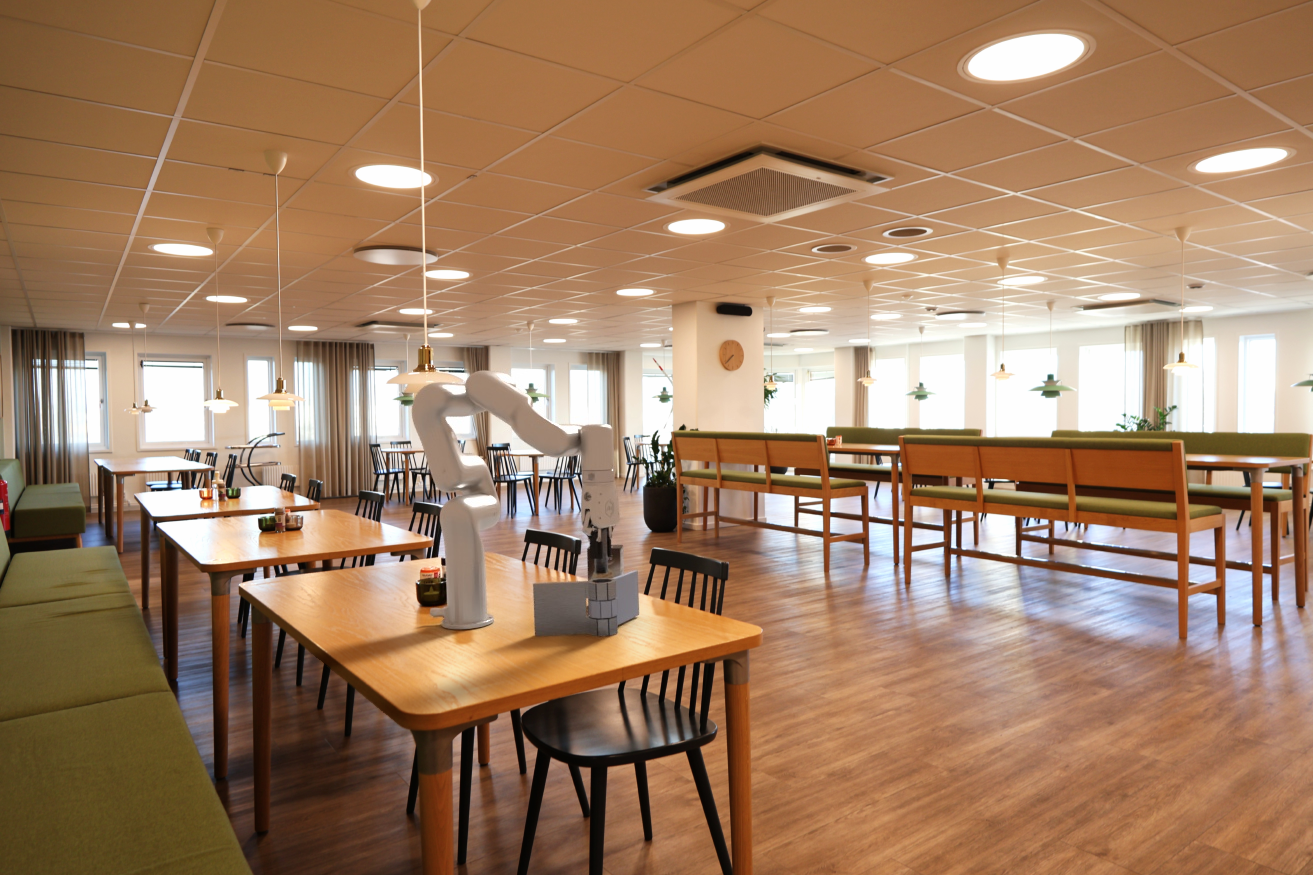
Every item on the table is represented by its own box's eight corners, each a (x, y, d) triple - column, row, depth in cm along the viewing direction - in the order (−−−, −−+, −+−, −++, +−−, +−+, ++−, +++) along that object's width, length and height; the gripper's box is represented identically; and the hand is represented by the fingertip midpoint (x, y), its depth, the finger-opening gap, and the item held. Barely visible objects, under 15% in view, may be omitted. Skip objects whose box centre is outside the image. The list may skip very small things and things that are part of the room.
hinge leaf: (608, 635, 178) (606, 586, 178) (584, 632, 181) (582, 584, 181) (648, 615, 195) (646, 571, 195) (626, 613, 198) (624, 569, 198)
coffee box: (587, 609, 206) (585, 548, 206) (591, 604, 212) (589, 544, 212) (622, 609, 205) (620, 547, 205) (625, 603, 211) (623, 543, 211)
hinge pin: (590, 574, 180) (588, 514, 180) (591, 570, 185) (589, 512, 185) (612, 574, 180) (610, 513, 180) (612, 570, 185) (610, 511, 185)
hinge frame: (533, 639, 179) (531, 586, 179) (536, 631, 185) (534, 580, 185) (617, 635, 180) (615, 582, 179) (617, 628, 186) (616, 577, 186)
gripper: (592, 480, 173) (595, 564, 173) (630, 475, 187) (632, 552, 188) (564, 480, 177) (567, 562, 177) (603, 475, 191) (605, 550, 191)
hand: (600, 556), depth 182 cm, fingers closed on hinge pin, 3 cm apart
